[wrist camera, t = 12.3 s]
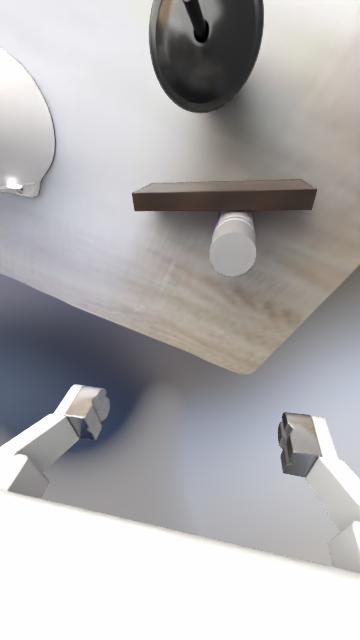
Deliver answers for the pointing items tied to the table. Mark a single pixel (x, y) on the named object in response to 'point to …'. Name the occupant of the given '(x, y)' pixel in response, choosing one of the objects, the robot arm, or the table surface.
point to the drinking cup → (204, 49)
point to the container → (233, 243)
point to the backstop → (226, 196)
